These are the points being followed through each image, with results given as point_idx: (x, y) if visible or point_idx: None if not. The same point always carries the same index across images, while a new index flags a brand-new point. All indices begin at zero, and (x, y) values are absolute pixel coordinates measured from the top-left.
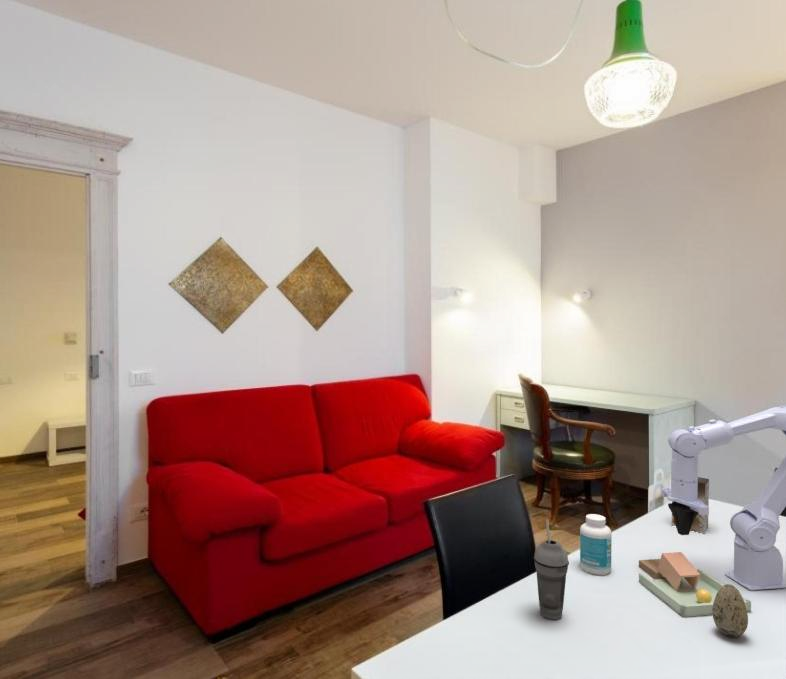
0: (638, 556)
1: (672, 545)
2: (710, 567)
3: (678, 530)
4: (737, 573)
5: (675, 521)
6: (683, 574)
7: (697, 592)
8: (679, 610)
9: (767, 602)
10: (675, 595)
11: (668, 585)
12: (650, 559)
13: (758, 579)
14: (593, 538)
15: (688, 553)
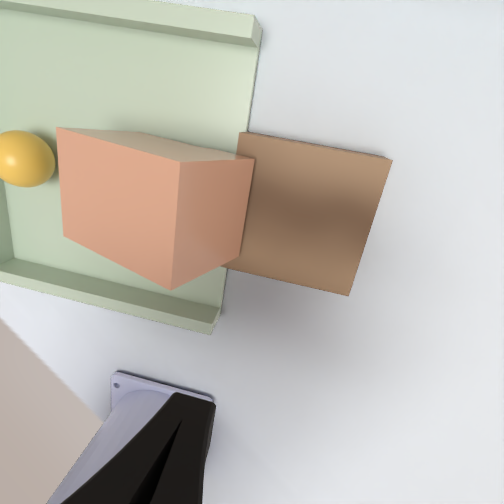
0: (482, 256)
1: (476, 458)
2: (273, 409)
3: (188, 416)
4: (153, 409)
5: (185, 491)
6: (61, 151)
7: (16, 138)
8: None
9: (57, 350)
10: (106, 96)
11: (184, 139)
12: (370, 228)
13: (105, 420)
14: None
15: (390, 444)
